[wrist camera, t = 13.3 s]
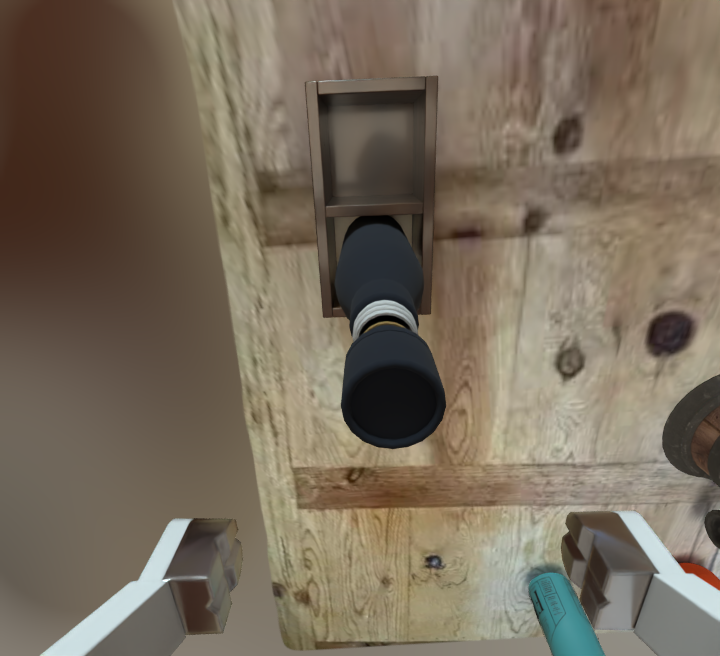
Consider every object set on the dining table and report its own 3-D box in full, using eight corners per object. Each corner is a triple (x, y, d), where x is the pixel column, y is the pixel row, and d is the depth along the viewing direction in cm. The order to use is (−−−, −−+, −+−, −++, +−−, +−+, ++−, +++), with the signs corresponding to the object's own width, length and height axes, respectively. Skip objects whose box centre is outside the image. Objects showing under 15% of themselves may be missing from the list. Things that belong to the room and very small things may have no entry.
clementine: (707, 579, 63) (747, 629, 57) (660, 592, 64) (694, 642, 58) (699, 546, 60) (739, 593, 54) (650, 560, 62) (684, 608, 55)
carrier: (422, 92, 38) (438, 75, 30) (419, 286, 45) (430, 314, 37) (317, 96, 38) (304, 81, 30) (330, 288, 46) (323, 318, 38)
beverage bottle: (521, 565, 62) (588, 737, 44) (566, 559, 62) (653, 731, 43) (523, 593, 65) (587, 768, 46) (567, 588, 64) (648, 763, 46)
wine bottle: (406, 211, 41) (491, 325, 14) (404, 273, 44) (474, 476, 16) (342, 212, 41) (299, 328, 14) (344, 274, 44) (311, 477, 16)
